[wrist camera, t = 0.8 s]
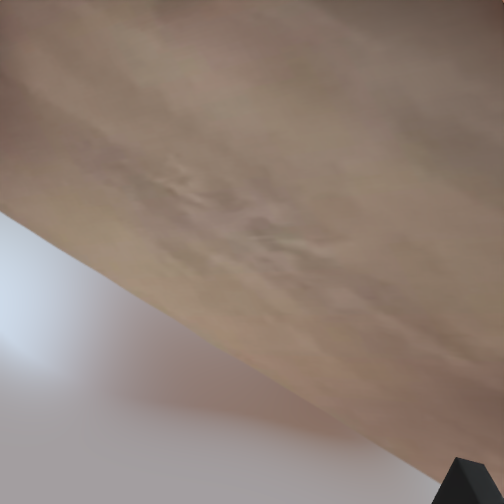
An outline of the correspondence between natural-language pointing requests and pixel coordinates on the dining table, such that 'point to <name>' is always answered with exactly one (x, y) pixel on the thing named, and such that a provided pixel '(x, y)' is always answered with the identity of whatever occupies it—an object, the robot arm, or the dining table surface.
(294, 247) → the dining table surface
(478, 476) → the robot arm
